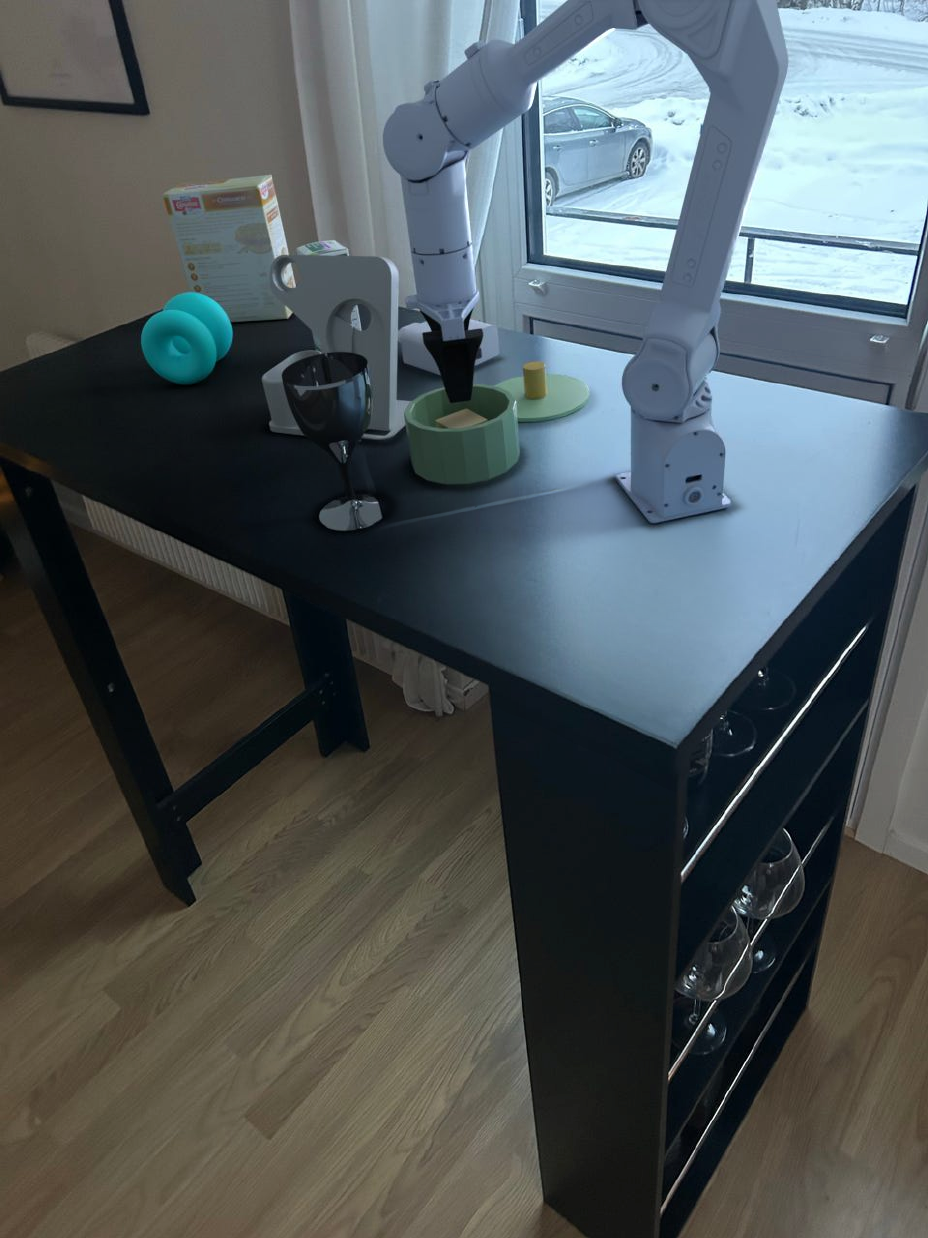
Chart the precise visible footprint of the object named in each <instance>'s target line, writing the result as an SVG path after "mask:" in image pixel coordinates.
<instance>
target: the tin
mask: <svg viewBox="0 0 928 1238" xmlns="http://www.w3.org/2000/svg"><path fill="white" fill-rule="evenodd" d="M411 401H412V402H410V403H409V404H408V406H407V408H406V410H405V412H404V418H405V424H406V425H405V430H406V438H407V442H408V449H409V455H410V462H411V466H412V468H413V471H414V473H415V474H416V475H417V476H419V477H421V478H423V479H425V480H426V481H429V482H433V483H438V484H441V485H468V484H473V483H478V482H479V483H480V482H484V481H488V480H491V479H494V478H495V477H497V476H500V475H502V474H505V473H507V472H508V471H509V470H510V469H511V468H512V467H514V466H515V465H516V464H517V463H518V462H519V459H520V454H521V445H520V434H519V422H518V419H517V407H516V400H515V398H514V397H513V395H512V394H511V393H510V392H509V391H507V390H504V389H502V388H500V387H497V386H495V385H491V384H485V383H473V390H472V397H471V400H470V401H464V402H456V403H450V401H449V399H448V396H447V394H446V391H445V388H444V386H443V387H437V388H436V389H432V390H430V391H428V392H425V393H422V394H420V395H418V396H417V397H416V398H414V399H413V400H411ZM466 408H467V409H469V410H470V411H472V412H474V413H476V414H478V415H480V416H482V417H483V418H485V419H487V420H488V421H487V422H485V423H482V424H479V425H474V426H469V427H464V428H449V429H441V428H436V424H435V420H437V419H440V418H442V417H445V416H448V415H450V414H453V413H456V412H458V411H461V410H463V409H466Z"/></svg>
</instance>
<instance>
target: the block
mask: <svg viewBox="0 0 928 1238" xmlns="http://www.w3.org/2000/svg"><path fill="white" fill-rule="evenodd" d="M487 421H488V420H487V419H485V418H483V417H482V416H480V415H478V414H476V413H474V412H472V411H470V410H469V409H467V408H466V409H463V410H461V411H458V412H456V413H453V414H450V415H448V416H445V417H442V418H440V419H437V420H435V424H436V428H441V429H449V428H464V427H469V426H474V425H479V424H482V423H485V422H487Z"/></svg>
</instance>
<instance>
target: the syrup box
mask: <svg viewBox="0 0 928 1238" xmlns="http://www.w3.org/2000/svg"><path fill="white" fill-rule="evenodd" d="M296 255H330V256H350V254H349V248H348V247H345V246H344V245H343V244H341V243H340V242H339V241H336V240H335V239H331V240H320V241H315V242H311V243H306V244H303V245H301V246H298V247H296ZM358 306H359V305H357V306H356V307H355V308H354V309H353V311H352V315H351V319H352V323H353V325H354V326H355V328H357V329H358V330H361V331H363V329H362V326H361V325H362V324H361V319H360V312H359V307H358ZM311 334H312V338H313V342H314V348H315V351H319V352H321V342H320V339H319V337H318V336H317V334H316V333H314V332H313V331H312V330H311Z"/></svg>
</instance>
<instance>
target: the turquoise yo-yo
mask: <svg viewBox="0 0 928 1238" xmlns="http://www.w3.org/2000/svg"><path fill="white" fill-rule="evenodd" d="M233 337H234V336H233V327H232V322H230V320H229V318H228V316H227V314H226V313H225V311H224V310H223V308H222V307H221V306H220V305H219V304H218V303H217V302H215V301H214V300H213V299H211V298H209V297H207V296H205V295H203V294H199V293H193V292H190V291H187V292H182V293H179V294H177V295H174V296H173V297H171V298H170V299H169V300H168V301H167V302H166V303H165V305H164V306H163V309H162V310H161V311H159V312H157V313H155V314H153V315H152V316H151V317H150V318H148V320H147V321H146V323H145V324H144V326H143V328H142V332H141V336H140V344H141V349H142V354H143V355H144V359H145V360H146V362H147V364H148V365H149V367H151V369H152V370H153V371H154V372H155V373H156V374H157V375H159V376H160V377H161V378H163V379H165V380H166V381H169V382H171V383H174V384H178V385H184V386H185V385H186V386H187V385H194V384H197V383H199V382H202V381H204V380H205V379H206V378H208V376H209V375H211V373H212V372H213V371H214V368H215V366H216V362H218V361H220V360H222V359H223V358H224V357H225V356H226V355H227V354H228V352H229V351H230V349H231V346H232V343H233Z"/></svg>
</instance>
